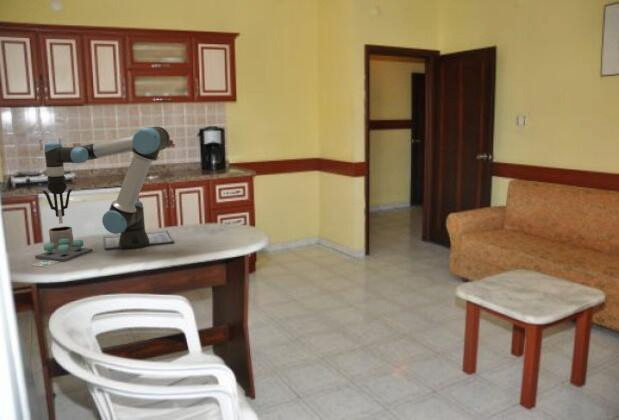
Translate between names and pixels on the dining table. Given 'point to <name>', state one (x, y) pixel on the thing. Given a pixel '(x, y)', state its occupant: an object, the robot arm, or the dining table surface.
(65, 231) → the planter
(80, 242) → the button
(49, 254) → the board
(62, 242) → the button
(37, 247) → the dining table surface
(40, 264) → the card
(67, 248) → the button
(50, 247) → the button
